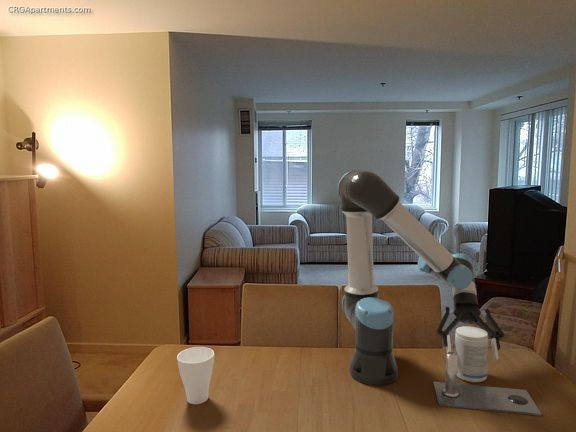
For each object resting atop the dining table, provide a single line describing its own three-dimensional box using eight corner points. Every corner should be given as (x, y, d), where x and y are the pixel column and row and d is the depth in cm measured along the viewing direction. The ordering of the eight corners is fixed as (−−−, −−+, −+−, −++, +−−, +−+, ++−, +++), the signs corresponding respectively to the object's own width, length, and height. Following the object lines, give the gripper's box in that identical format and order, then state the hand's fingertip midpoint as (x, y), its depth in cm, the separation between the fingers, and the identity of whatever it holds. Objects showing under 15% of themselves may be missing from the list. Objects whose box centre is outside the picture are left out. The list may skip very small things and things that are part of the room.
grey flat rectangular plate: (439, 405, 118) (439, 403, 118) (433, 383, 130) (433, 381, 130) (541, 415, 113) (541, 413, 113) (525, 391, 124) (526, 389, 124)
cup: (222, 392, 126) (220, 349, 124) (204, 412, 116) (202, 365, 114) (191, 386, 129) (189, 344, 128) (171, 405, 120) (169, 360, 118)
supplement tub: (493, 377, 133) (495, 333, 131) (475, 387, 127) (477, 340, 126) (465, 365, 141) (467, 323, 139) (447, 373, 135) (449, 329, 134)
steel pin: (443, 396, 121) (445, 357, 120) (441, 388, 126) (442, 350, 124) (460, 398, 120) (461, 358, 119) (457, 390, 125) (458, 351, 123)
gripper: (501, 303, 144) (513, 365, 132) (425, 299, 149) (429, 359, 137) (507, 293, 138) (520, 357, 126) (427, 289, 143) (432, 350, 131)
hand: (472, 358), depth 131 cm, fingers open, 13 cm apart
